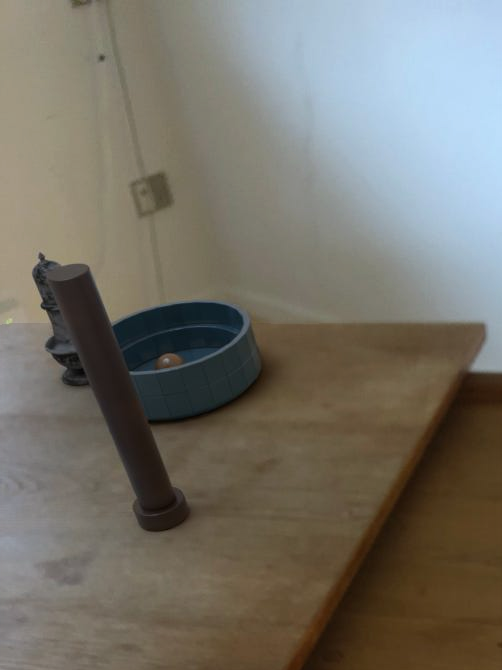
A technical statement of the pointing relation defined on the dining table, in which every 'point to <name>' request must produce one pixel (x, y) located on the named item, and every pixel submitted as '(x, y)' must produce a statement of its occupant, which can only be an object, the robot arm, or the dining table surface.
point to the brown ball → (169, 361)
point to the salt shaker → (58, 327)
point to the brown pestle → (117, 397)
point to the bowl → (189, 356)
